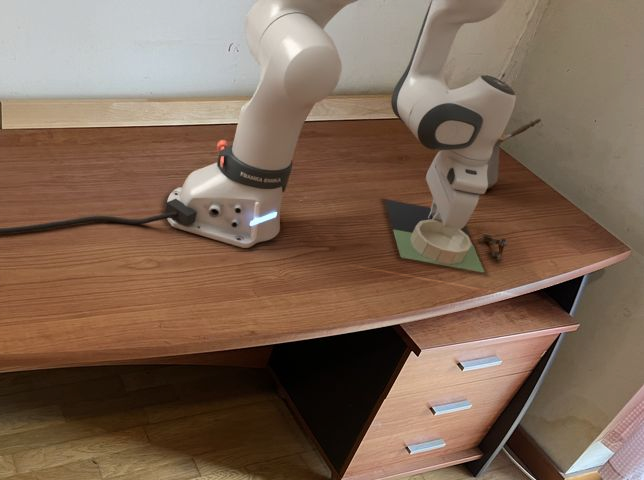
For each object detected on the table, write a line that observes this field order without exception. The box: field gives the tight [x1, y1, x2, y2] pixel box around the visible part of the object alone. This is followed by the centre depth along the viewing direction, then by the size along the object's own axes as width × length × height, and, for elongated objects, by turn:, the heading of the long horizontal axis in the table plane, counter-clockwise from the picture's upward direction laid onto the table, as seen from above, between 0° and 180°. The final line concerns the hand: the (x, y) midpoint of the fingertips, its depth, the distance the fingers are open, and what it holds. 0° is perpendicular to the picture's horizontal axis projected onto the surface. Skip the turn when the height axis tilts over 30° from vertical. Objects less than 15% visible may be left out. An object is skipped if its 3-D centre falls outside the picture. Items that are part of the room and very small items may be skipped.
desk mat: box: [384, 199, 485, 273], centre depth 148 cm, size 17×22×1 cm
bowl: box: [410, 219, 473, 264], centre depth 143 cm, size 11×11×3 cm
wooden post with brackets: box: [481, 233, 508, 262], centre depth 146 cm, size 2×8×4 cm, turn 1°
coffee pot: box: [487, 118, 544, 190], centre depth 166 cm, size 21×12×15 cm, turn 119°
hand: (432, 223), depth 148 cm, fingers closed
